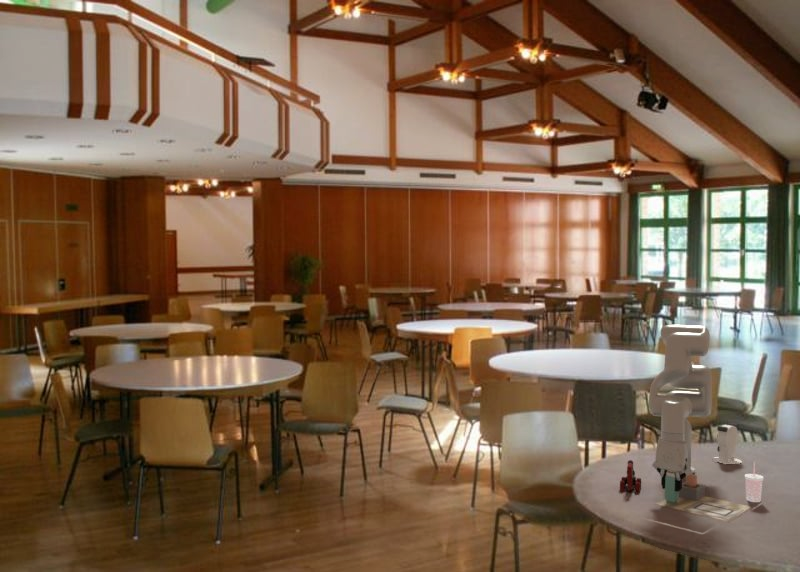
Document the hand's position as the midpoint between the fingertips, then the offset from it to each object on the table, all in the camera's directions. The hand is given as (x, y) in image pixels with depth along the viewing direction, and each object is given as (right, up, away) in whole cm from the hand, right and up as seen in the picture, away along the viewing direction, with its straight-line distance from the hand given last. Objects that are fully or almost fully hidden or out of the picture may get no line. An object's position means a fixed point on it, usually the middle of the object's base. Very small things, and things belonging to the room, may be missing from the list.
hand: (671, 488), depth 280 cm
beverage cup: (+30, -5, +4) cm, 30 cm away
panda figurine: (+42, -3, +56) cm, 70 cm away
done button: (+9, -2, +7) cm, 11 cm away
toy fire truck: (-9, -5, +16) cm, 20 cm away
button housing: (+9, -4, +7) cm, 12 cm away
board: (+10, -6, -2) cm, 12 cm away
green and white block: (0, -5, 0) cm, 5 cm away
